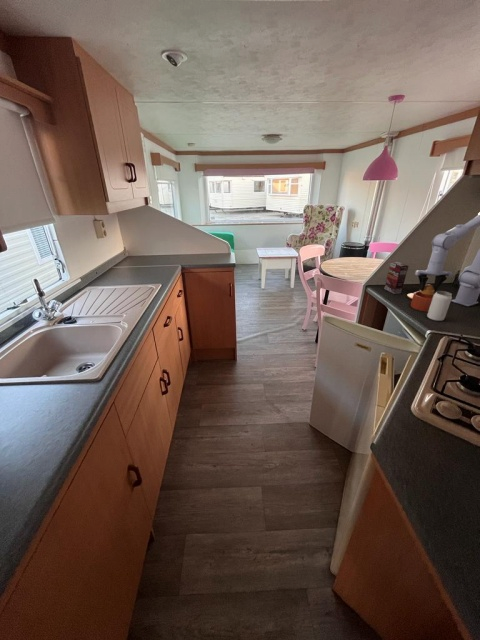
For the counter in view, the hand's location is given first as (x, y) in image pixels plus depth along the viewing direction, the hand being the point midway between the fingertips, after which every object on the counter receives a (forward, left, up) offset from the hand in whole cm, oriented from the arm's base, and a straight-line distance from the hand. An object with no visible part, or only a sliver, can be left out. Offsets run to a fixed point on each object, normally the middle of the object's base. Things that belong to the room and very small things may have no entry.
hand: (427, 290), depth 126 cm
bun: (0, 0, -1) cm, 1 cm away
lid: (-10, -8, -8) cm, 15 cm away
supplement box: (-8, -22, -9) cm, 25 cm away
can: (+7, +10, -9) cm, 15 cm away
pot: (0, 0, -9) cm, 9 cm away
